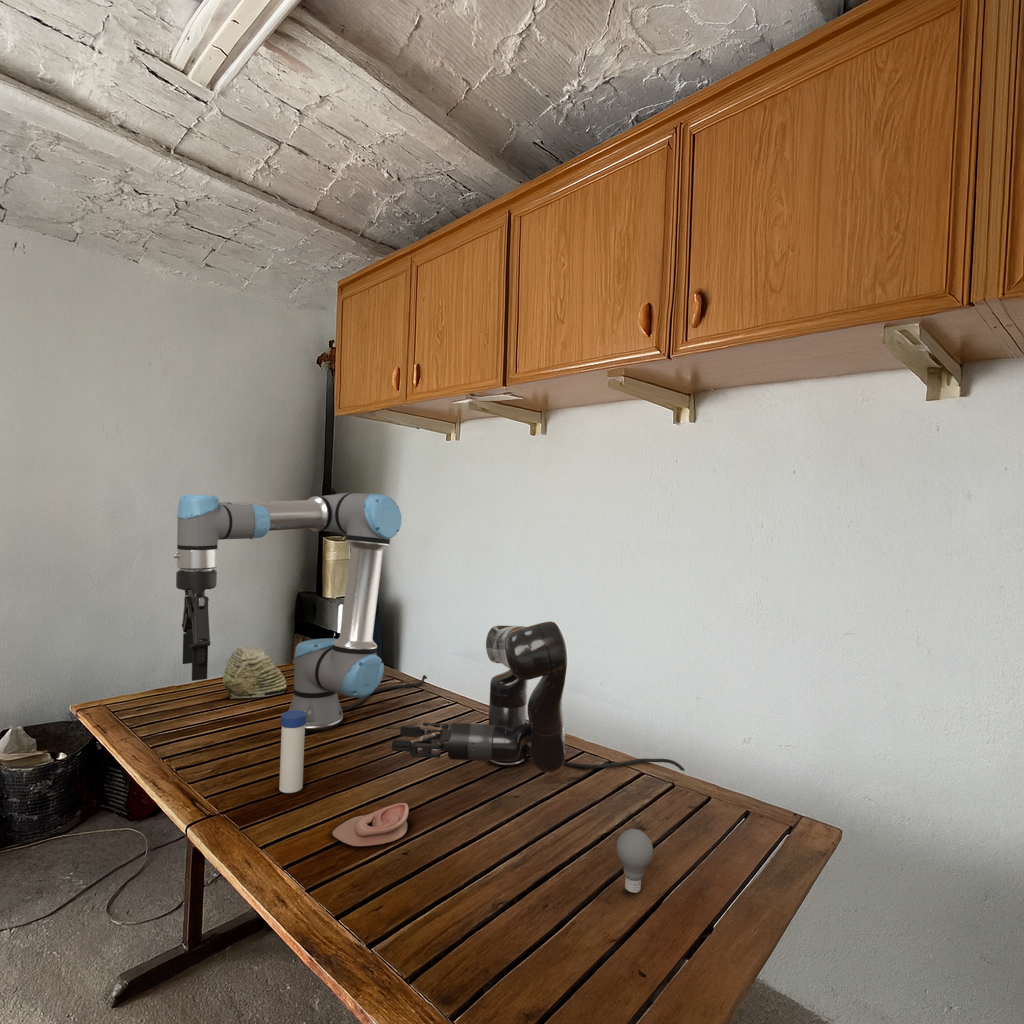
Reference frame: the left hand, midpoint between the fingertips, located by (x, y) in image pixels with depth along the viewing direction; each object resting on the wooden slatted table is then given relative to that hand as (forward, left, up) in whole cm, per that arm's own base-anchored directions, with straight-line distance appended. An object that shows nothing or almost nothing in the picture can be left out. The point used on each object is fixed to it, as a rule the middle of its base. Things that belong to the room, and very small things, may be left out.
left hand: (194, 671), depth 132 cm
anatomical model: (-16, +39, -26) cm, 49 cm away
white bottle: (-16, +12, -26) cm, 33 cm away
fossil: (-43, -52, -26) cm, 72 cm away
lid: (-16, +12, -10) cm, 22 cm away
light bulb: (-34, +85, -26) cm, 95 cm away
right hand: (-29, +30, -14) cm, 44 cm away
